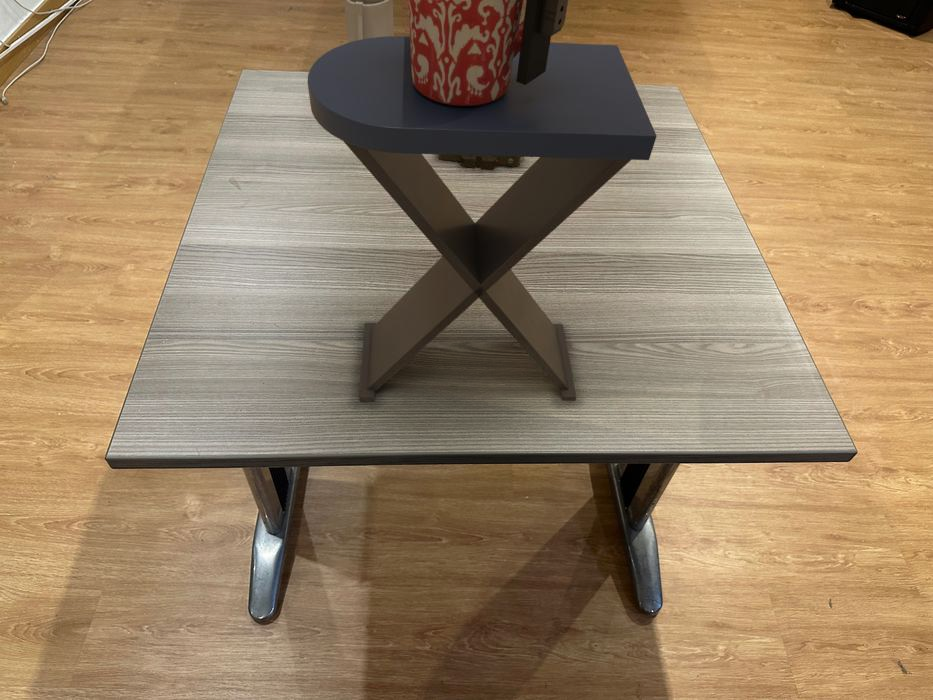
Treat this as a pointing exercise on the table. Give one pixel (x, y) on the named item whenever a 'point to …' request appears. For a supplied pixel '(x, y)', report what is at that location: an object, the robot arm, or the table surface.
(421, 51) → the mug
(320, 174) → the table surface
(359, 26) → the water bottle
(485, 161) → the landmine
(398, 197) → the x-leg side table
